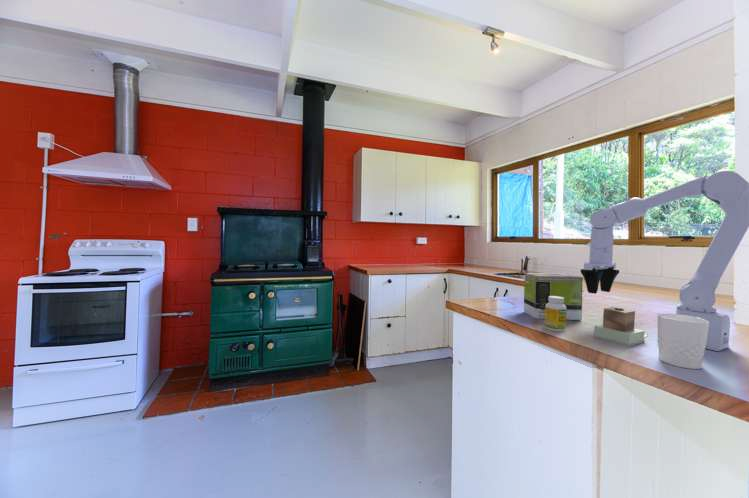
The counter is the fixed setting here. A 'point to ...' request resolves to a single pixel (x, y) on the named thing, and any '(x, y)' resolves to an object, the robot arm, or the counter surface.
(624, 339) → the base brick
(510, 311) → the counter surface
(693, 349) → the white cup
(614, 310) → the walnut brick
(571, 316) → the tea box
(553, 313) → the supplement bottle
